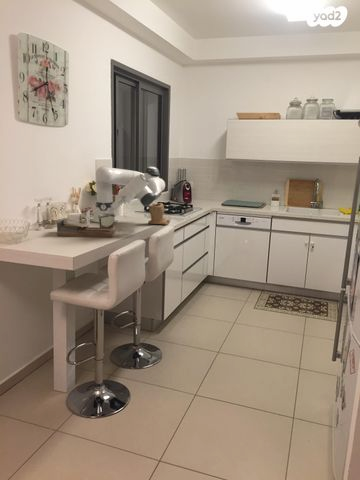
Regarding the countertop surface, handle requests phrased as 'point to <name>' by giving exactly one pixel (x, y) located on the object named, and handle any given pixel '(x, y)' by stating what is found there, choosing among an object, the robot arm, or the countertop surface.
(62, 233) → the loading dock
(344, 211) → the countertop surface
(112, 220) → the food container
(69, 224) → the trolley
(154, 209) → the stone cup
